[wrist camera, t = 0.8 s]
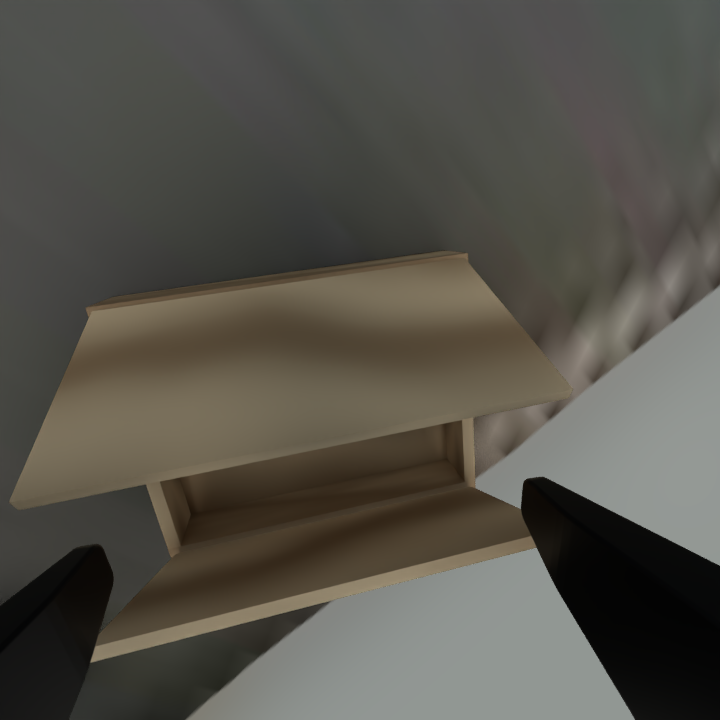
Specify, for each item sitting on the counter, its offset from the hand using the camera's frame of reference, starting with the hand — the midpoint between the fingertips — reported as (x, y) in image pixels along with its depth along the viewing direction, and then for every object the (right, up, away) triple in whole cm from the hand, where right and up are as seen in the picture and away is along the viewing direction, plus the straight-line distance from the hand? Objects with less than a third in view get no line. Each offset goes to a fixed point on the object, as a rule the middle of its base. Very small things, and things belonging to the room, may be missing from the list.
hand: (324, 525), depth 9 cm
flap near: (-1, +4, +5) cm, 7 cm away
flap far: (0, -4, +8) cm, 9 cm away
